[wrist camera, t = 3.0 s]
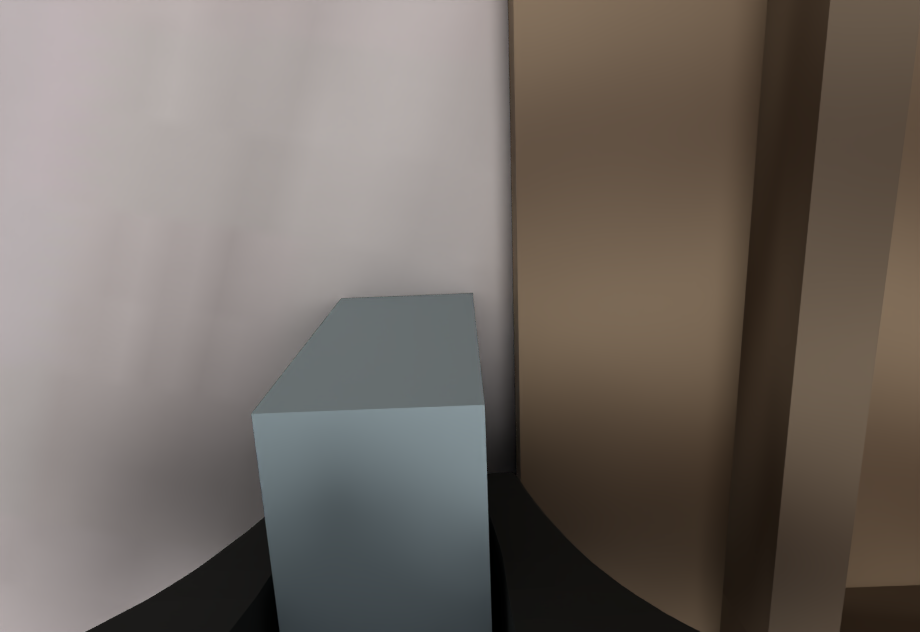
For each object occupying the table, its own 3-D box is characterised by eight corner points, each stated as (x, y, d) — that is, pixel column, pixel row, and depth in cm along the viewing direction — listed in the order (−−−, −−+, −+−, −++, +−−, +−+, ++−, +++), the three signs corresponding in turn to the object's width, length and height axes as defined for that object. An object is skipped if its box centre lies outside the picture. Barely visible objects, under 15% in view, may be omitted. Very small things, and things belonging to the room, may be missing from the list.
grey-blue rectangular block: (484, 646, 14) (501, 944, 9) (347, 650, 14) (281, 952, 9) (472, 293, 12) (484, 404, 7) (312, 299, 12) (200, 415, 7)
